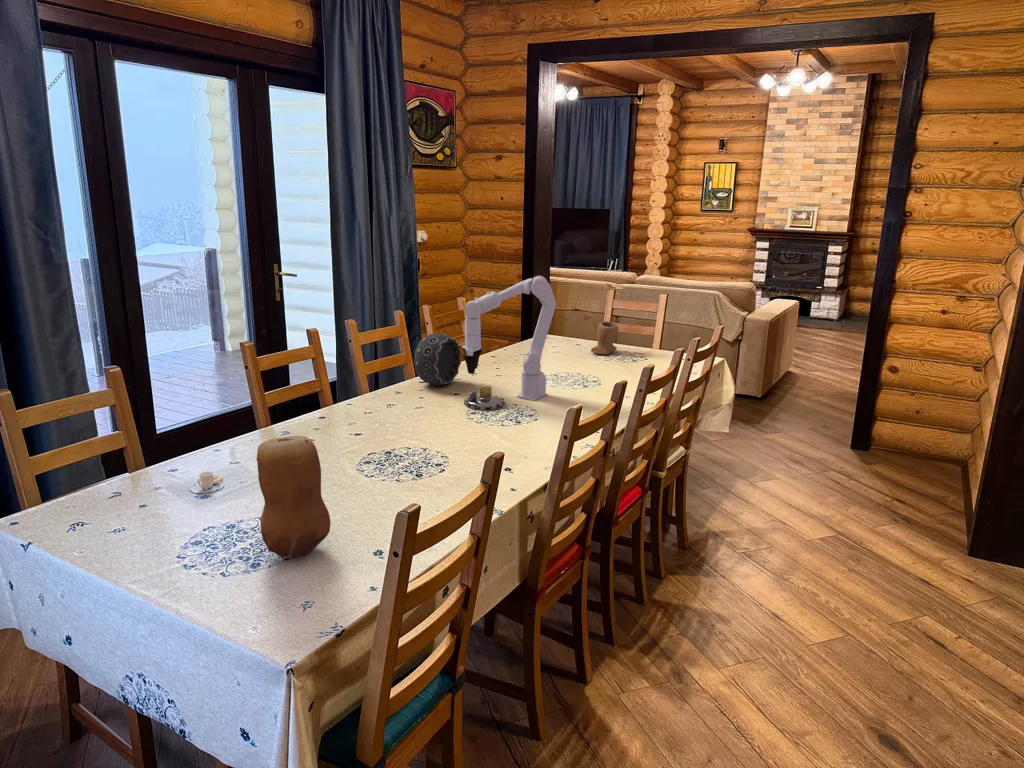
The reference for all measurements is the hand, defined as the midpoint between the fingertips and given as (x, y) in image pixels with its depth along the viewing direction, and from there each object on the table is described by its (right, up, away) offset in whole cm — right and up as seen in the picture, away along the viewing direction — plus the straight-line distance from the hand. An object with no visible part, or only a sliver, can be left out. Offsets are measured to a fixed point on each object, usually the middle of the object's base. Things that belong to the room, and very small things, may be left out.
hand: (472, 370), depth 253 cm
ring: (-14, -5, +17) cm, 23 cm away
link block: (+5, -10, -5) cm, 12 cm away
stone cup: (+59, +10, +77) cm, 98 cm away
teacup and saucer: (-59, -31, -80) cm, 104 cm away
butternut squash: (-30, -40, -112) cm, 122 cm away
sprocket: (+5, -12, -8) cm, 16 cm away
